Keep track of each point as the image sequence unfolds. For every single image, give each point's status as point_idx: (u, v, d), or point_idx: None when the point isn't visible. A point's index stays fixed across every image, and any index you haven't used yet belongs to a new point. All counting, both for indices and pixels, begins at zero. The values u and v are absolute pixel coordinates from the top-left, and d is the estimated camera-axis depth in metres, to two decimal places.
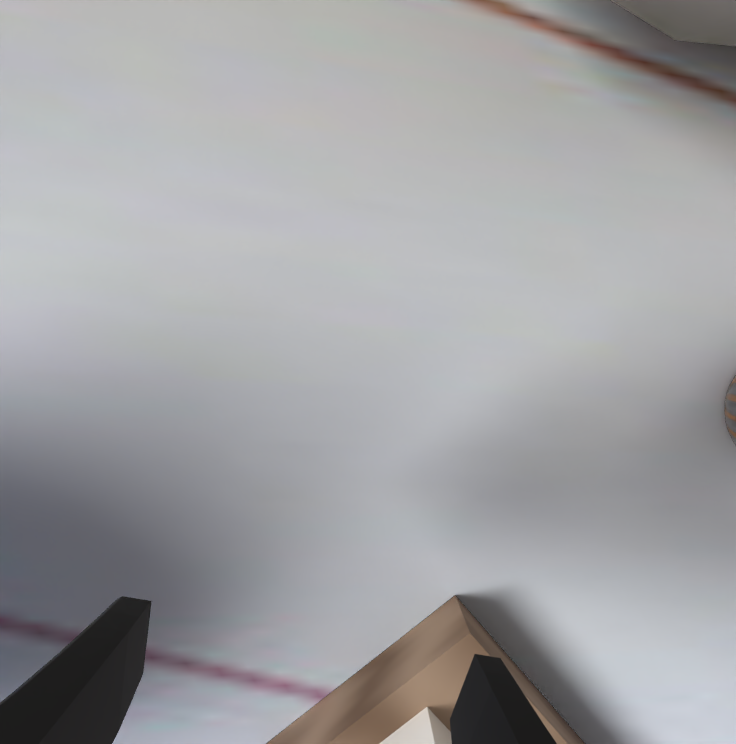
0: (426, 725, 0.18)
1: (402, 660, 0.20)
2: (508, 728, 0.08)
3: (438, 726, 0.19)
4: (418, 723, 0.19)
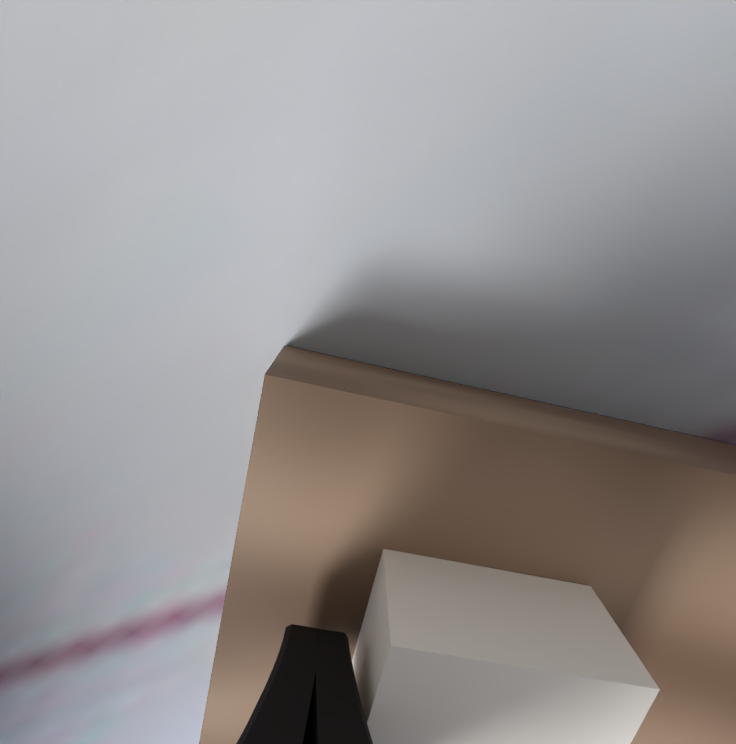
0: (382, 581, 0.09)
1: None
2: None
3: (411, 568, 0.10)
4: (378, 582, 0.10)
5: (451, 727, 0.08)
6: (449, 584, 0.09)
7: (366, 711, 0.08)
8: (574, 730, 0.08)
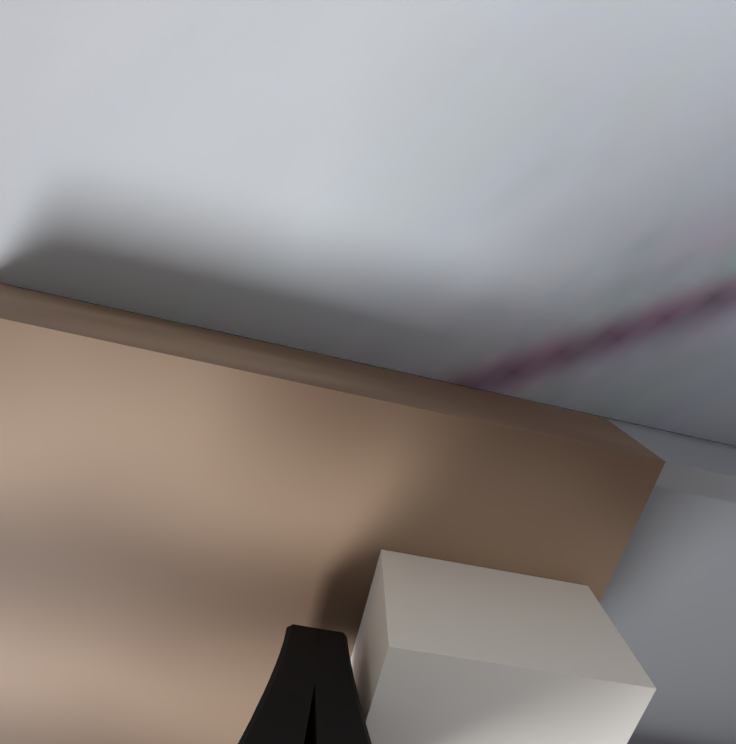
0: (380, 581, 0.09)
1: None
2: None
3: (409, 568, 0.10)
4: (376, 583, 0.10)
5: (449, 727, 0.08)
6: (447, 585, 0.09)
7: (364, 712, 0.08)
8: (571, 729, 0.08)
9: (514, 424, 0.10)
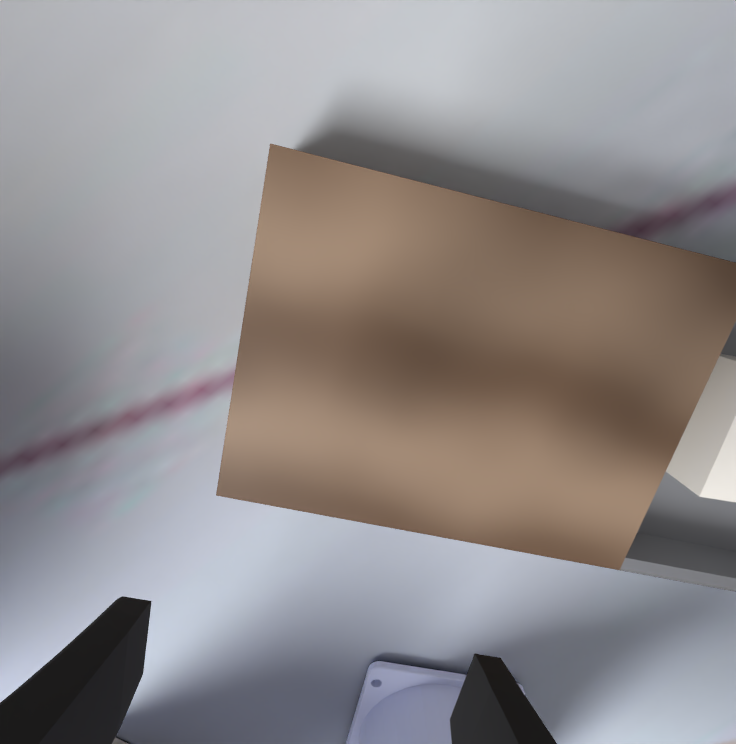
0: None
1: None
2: (508, 728, 0.08)
3: (725, 356, 0.17)
4: None
5: None
6: None
7: (729, 416, 0.16)
8: None
9: (659, 244, 0.14)
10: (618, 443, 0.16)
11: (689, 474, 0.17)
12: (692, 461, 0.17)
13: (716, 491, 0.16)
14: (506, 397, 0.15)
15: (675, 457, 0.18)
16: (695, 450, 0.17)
